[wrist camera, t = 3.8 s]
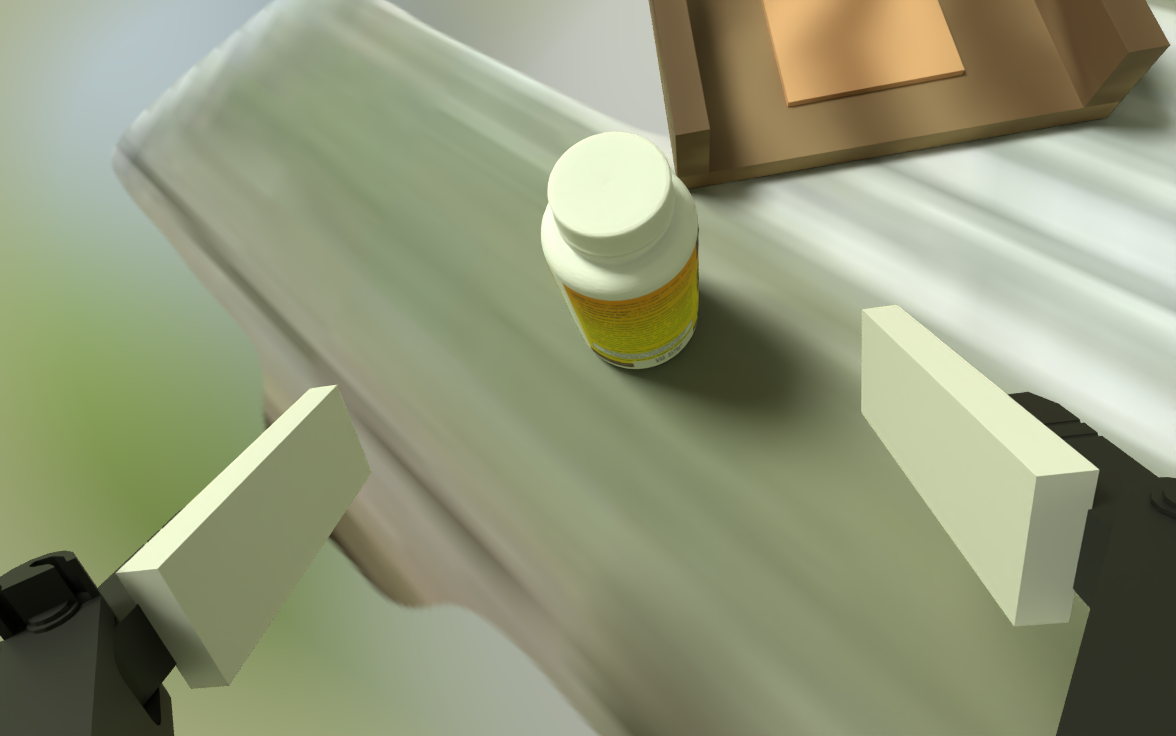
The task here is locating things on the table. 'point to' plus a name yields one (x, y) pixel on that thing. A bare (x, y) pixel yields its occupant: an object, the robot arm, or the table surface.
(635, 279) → the supplement bottle
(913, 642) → the table surface
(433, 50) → the table surface
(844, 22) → the wooden tray with rails
